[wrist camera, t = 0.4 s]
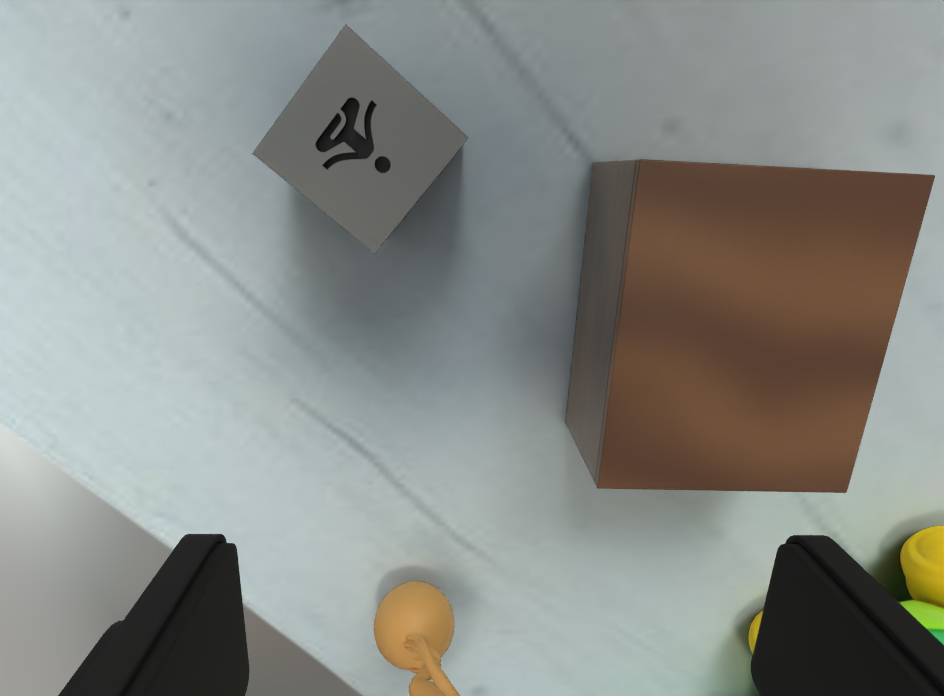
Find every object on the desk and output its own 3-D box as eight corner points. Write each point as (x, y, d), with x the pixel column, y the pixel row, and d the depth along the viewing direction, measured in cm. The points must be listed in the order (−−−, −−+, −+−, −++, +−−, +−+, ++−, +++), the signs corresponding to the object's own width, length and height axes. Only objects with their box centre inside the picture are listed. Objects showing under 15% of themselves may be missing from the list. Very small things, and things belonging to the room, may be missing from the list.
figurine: (360, 537, 29) (305, 779, 17) (476, 515, 29) (498, 743, 17) (397, 662, 31) (370, 946, 20) (503, 642, 31) (539, 915, 20)
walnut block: (592, 162, 24) (640, 159, 18) (820, 174, 24) (935, 174, 19) (565, 422, 27) (597, 488, 22) (764, 427, 28) (847, 493, 22)
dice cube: (366, 55, 22) (345, 23, 17) (463, 144, 23) (468, 137, 19) (291, 157, 23) (252, 153, 18) (387, 237, 24) (374, 253, 20)
